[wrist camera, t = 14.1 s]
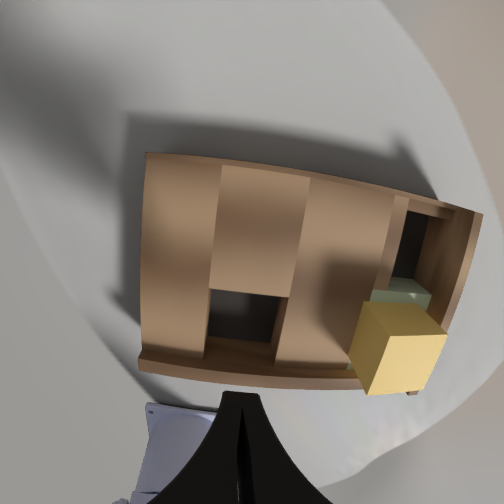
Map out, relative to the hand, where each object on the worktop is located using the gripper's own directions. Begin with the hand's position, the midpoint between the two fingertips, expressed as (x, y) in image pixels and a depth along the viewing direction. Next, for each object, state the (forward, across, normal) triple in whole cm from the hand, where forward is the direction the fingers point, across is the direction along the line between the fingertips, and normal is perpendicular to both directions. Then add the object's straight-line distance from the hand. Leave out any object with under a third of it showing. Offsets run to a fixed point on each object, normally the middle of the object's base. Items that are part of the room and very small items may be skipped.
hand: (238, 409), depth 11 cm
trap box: (+10, -4, -2) cm, 11 cm away
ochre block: (+7, -9, 0) cm, 12 cm away
